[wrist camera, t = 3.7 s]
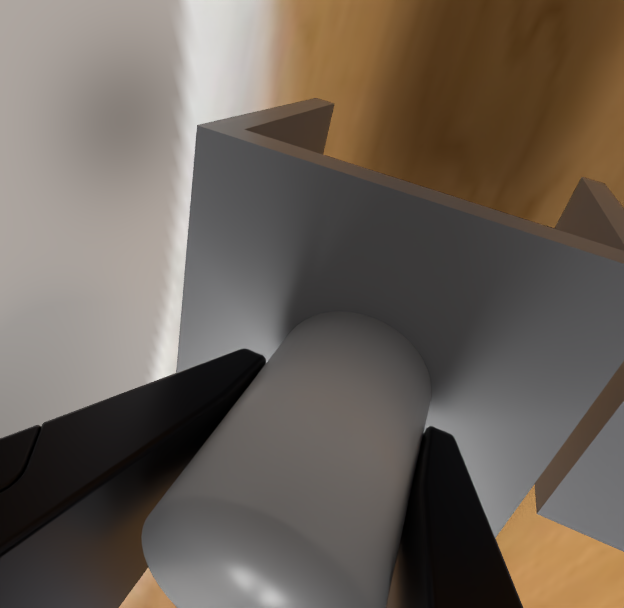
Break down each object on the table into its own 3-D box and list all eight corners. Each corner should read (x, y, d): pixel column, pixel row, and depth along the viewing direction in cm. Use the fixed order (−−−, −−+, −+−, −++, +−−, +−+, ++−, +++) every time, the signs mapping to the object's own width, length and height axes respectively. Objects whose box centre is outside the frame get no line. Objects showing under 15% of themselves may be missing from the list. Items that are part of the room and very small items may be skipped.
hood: (269, 323, 16) (24, 602, 8) (315, 97, 12) (-62, 184, 4) (479, 407, 14) (448, 850, 6) (604, 184, 11) (899, 568, 3)
